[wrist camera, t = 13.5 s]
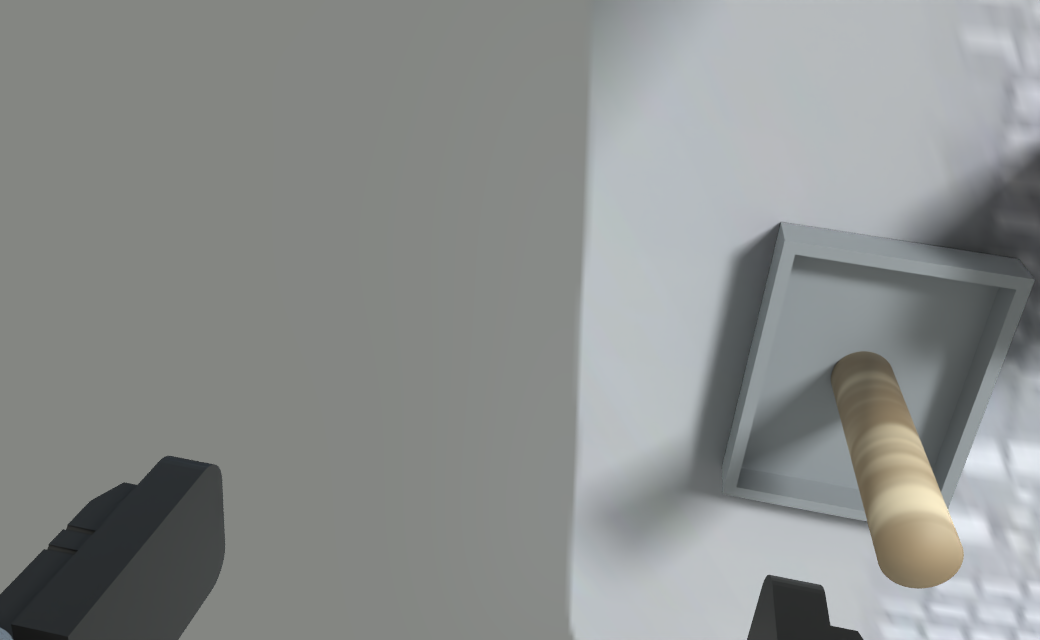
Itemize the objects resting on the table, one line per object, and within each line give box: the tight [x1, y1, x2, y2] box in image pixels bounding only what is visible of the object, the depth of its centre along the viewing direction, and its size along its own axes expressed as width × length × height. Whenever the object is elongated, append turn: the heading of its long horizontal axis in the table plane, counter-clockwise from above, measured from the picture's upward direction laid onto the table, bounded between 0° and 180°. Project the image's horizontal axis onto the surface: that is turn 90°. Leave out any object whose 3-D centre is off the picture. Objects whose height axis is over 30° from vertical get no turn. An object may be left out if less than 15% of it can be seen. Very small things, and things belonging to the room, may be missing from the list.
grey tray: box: [722, 222, 1035, 521], centre depth 47 cm, size 14×11×2 cm
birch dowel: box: [831, 351, 964, 588], centre depth 41 cm, size 3×3×14 cm
